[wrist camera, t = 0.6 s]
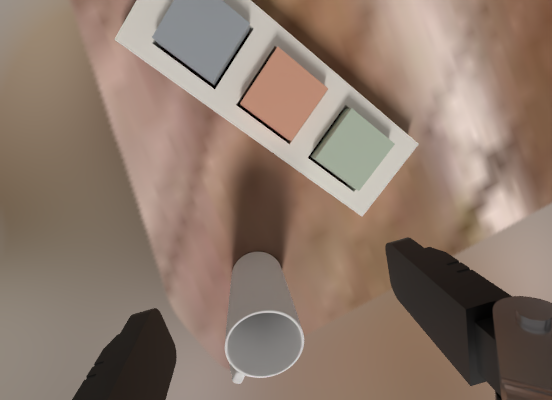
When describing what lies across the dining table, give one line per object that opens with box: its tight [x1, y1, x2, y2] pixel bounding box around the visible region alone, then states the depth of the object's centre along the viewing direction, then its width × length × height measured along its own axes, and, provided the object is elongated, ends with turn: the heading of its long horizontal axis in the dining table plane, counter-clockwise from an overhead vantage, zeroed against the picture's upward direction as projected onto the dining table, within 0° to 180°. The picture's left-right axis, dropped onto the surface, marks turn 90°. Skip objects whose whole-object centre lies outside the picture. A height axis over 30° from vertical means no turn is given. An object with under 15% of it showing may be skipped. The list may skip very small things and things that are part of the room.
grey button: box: [152, 0, 250, 85], centre depth 25 cm, size 6×6×2 cm
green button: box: [310, 108, 395, 191], centre depth 30 cm, size 6×6×2 cm
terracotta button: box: [240, 47, 328, 141], centre depth 28 cm, size 6×6×2 cm
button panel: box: [114, 0, 418, 216], centre depth 29 cm, size 10×30×2 cm, turn 54°
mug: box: [225, 252, 304, 384], centre depth 30 cm, size 10×7×12 cm, turn 151°
